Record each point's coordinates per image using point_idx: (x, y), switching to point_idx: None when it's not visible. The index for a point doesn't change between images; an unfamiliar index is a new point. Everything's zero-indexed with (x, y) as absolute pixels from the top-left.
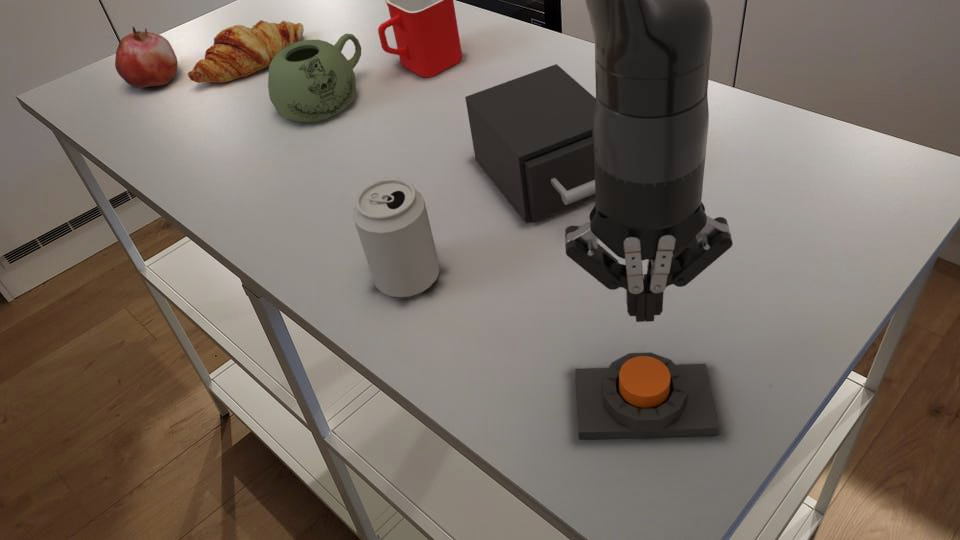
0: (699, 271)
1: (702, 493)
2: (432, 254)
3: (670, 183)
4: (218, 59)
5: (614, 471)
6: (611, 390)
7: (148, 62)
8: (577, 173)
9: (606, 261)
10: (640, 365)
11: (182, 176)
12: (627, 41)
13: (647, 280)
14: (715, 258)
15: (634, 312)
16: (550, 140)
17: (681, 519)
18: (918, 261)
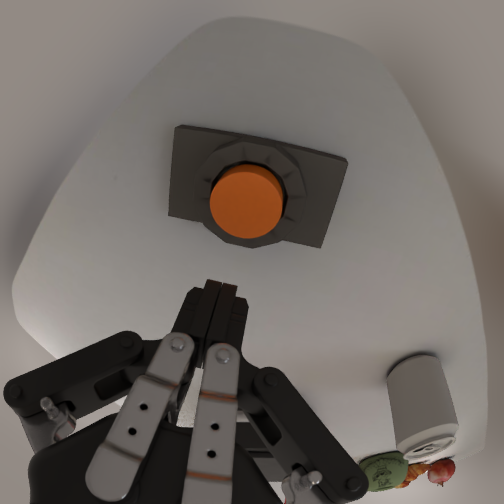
0: (83, 352)
1: (221, 56)
2: (399, 391)
3: None
4: (414, 475)
5: (317, 104)
6: (294, 201)
7: (444, 472)
8: (244, 425)
9: (267, 419)
10: (246, 224)
11: (468, 427)
12: None
13: (196, 359)
14: (45, 368)
15: (236, 303)
16: (260, 459)
17: (256, 30)
18: (20, 266)
